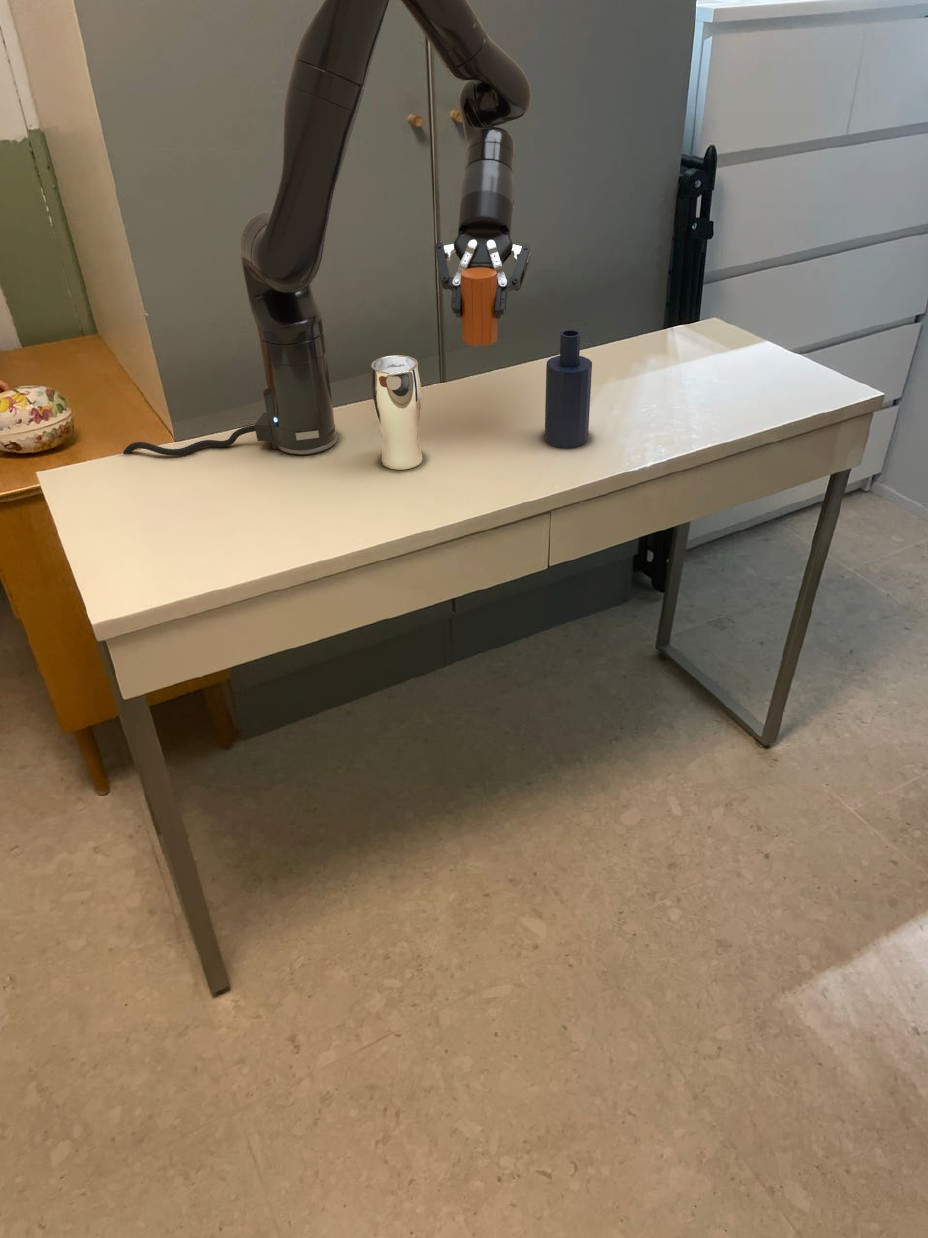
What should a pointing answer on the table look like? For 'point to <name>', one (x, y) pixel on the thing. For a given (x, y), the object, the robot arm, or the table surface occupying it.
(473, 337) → the grooved orange cylinder
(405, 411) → the silver metal tumbler
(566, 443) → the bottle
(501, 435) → the table surface
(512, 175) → the robot arm
